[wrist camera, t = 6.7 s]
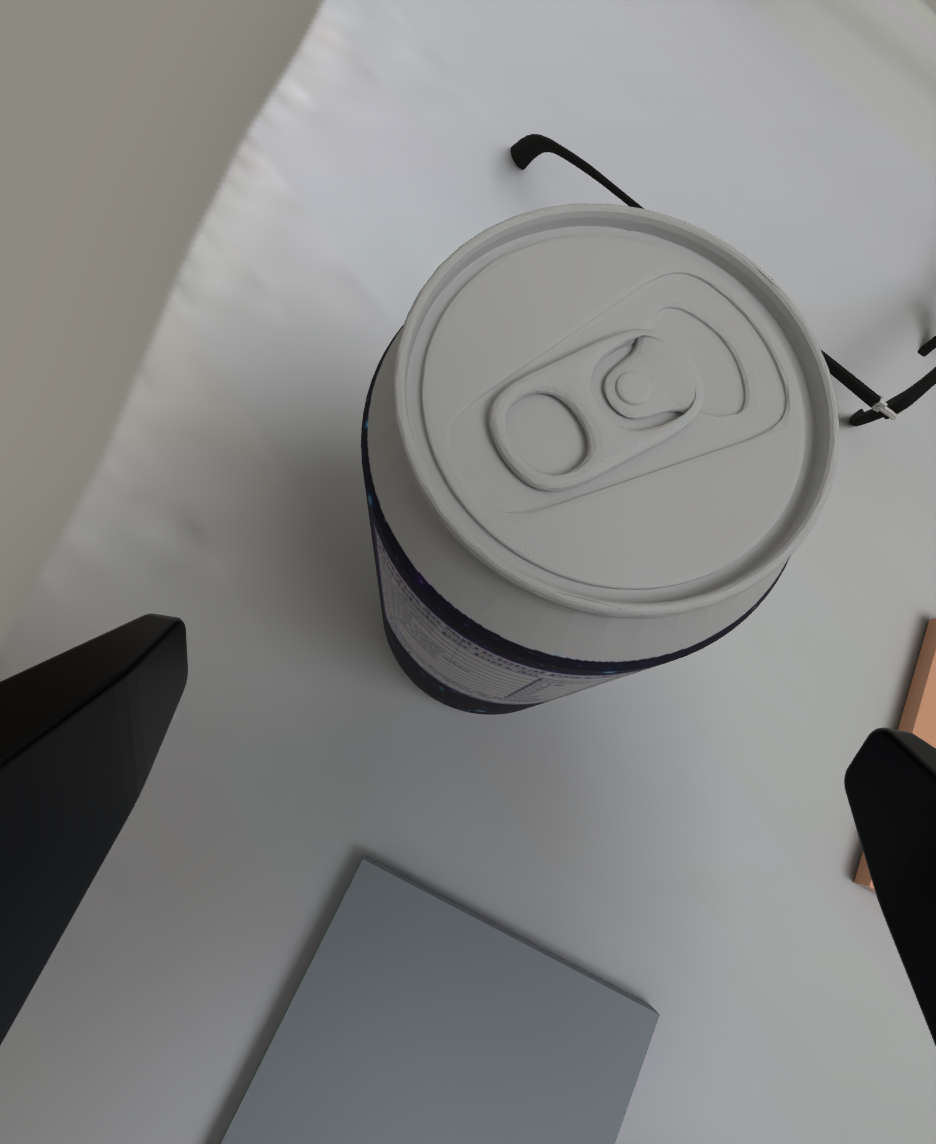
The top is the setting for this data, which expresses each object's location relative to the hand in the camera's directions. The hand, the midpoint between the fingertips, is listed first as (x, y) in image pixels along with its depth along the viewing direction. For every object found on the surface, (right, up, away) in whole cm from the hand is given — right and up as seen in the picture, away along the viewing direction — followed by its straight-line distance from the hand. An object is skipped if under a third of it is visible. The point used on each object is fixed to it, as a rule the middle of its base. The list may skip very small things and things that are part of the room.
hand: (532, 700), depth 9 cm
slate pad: (-2, -11, +7) cm, 13 cm away
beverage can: (0, 0, +10) cm, 10 cm away
